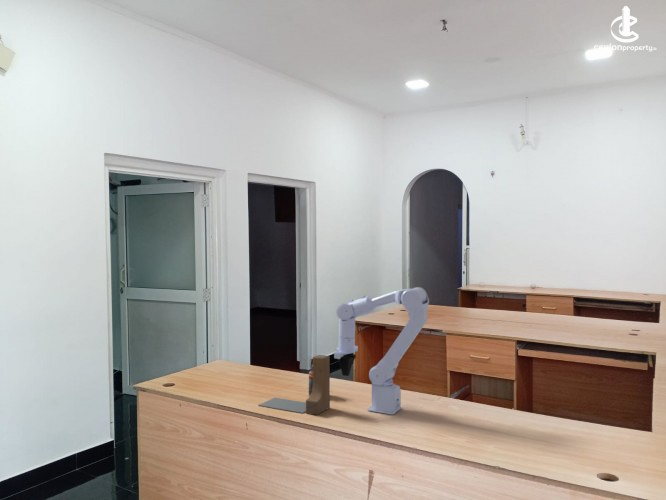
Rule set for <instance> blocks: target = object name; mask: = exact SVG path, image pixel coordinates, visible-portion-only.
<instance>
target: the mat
mask: <svg viewBox="0 0 666 500" xmlns="http://www.w3.org/2000/svg"><path fill="white" fill-rule="evenodd" d="M258 407H263V408H268V409H269V408H270V409H275V410H279V411H286V412H292V413H298V414H305V413H306V401H298V400H292V399H287V398H280V397H273V398H270V399H267V400H266V401H264V402H263V403H259V404H258Z"/></svg>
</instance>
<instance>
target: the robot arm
mask: <svg viewBox="0 0 666 500" xmlns="http://www.w3.org/2000/svg"><path fill="white" fill-rule="evenodd" d="M392 303H396V304H398V305H402V306H403V307H404V309H405V311H406V312H407V315H408V317H409V320H408V321H407V323H406V324H405V326H404V327H403V328H402V330H401V332H400V333H399V334H398V336H397V338H395V340H394V342H393V343H392V345H391V346H390V347H389V349H388V351H386V354H385V355H384V356H383V357H382V358H381V359H380V360H379V361H378V363H377V364H376V365H375V366H372V367H371V368H370V370H369V371H368V379H369V380H370V382H371V406H370V407H368V408H367V410H366V411H368V412H374V413H381V414H387V415H395V414H396V413H397V412H400V410H401V409H402V406H401V405H402V404H401V403H402V402H401V401H402V400H401V393H402V391H401V387H400V386H399V385H397V384H395V383H394V381H393V378H394V377H395V374H396V370H397V367H398V366H399V362H400V360H401V359H402V358H403V356H404V355H405V353H406V352H407V351H408V349H410V346H411V345H412V343H413V342H414V340H415V339H416V337H418V335H419V333H420V332H421V331H422V329H423V328H424V326H425V324H426V323H427V321H428V309H429V303H430V299H429V296H428V293H427V292H426V290H425V289H424V288H423V287H421V286H416V287H412V288H404V289H398V290H395V291H391V292H388V293H385V294H382V295H379V296H376V297H374V298H373V297H371V296H370V295H368V296H367V295H362V296H360V298H358V299H350V300H349V301H348V302H343V303H341V304H339V305H338V306H337V308H336V316H337V317H338V345H337V346H338V347H336V348H335V352H334V353H333V358H334V359H337V360H338V363H339V366H340V369H341V374H342V376H345V377H348V376H350V375H351V369H352V366H353V364H354V361H355V359H356V358H357V355H356V354H355V353H356V352H358V351H359V346H358V345H356V344H355V340H356V318H357V317H360V316H364V315H367V314H371V313H373V312H375V310H376V308H377V307H381V306H385V305H389V304H392Z"/></svg>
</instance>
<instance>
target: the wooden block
mask: <svg viewBox="0 0 666 500" xmlns="http://www.w3.org/2000/svg"><path fill="white" fill-rule="evenodd" d="M330 364H331V363H330V355H324V354H318V355H315V356H313V357H312V365H313V388H312V393H311V395H310V396H309V397H308V398H307V399H306V400H305V402H306V412H305V413H306V414H309V415H315V416H318V415H319V414H321V413H324V412H325V411H327V410H328V409H329V408H330V405H331V403H330V400H331V397H330V396H331V395H330V391H331V388H330V387H331V386H330V385H331V383H330V381H331V380H330V379H331V377H330V372H331V371H330V370H331V369H330V368H331V367H330Z"/></svg>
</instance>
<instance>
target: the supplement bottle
mask: <svg viewBox="0 0 666 500" xmlns="http://www.w3.org/2000/svg"><path fill="white" fill-rule="evenodd" d="M310 366H311V370H310V371H309V372H308V396H309V397H310V395H311V393H312V388H313V364H311V365H310Z"/></svg>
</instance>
